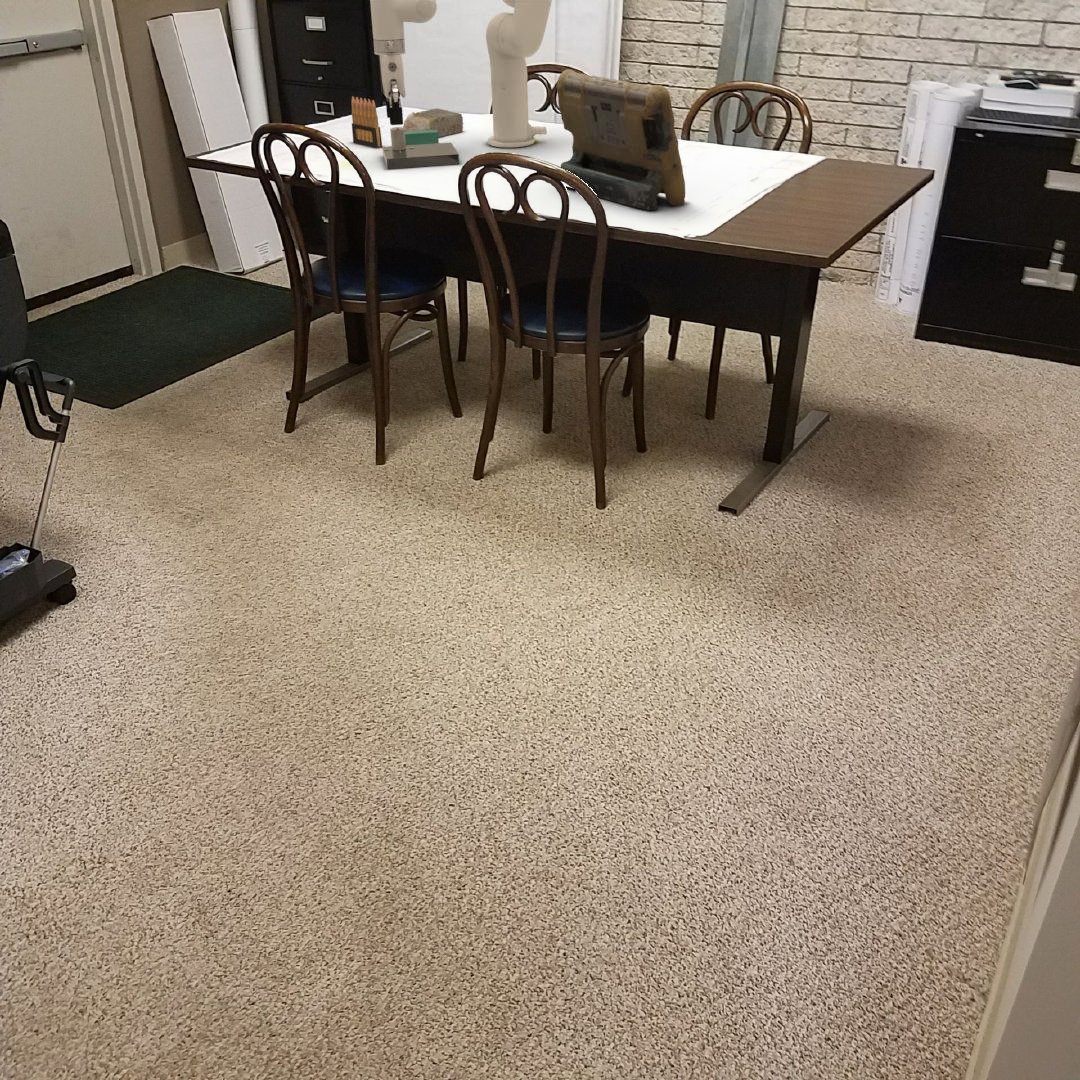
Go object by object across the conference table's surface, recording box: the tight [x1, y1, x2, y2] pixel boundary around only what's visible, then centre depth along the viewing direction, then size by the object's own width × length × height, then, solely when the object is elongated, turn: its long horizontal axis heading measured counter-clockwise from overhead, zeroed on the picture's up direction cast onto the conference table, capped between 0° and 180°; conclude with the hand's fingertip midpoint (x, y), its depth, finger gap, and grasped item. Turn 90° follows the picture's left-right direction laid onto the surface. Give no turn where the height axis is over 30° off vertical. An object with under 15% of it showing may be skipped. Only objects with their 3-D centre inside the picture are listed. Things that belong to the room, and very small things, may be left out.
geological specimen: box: [402, 108, 464, 138], centre depth 298 cm, size 11×6×15 cm
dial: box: [389, 126, 406, 151], centre depth 270 cm, size 4×4×5 cm
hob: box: [381, 141, 460, 170], centre depth 271 cm, size 18×14×3 cm
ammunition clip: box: [351, 95, 383, 149], centre depth 285 cm, size 11×2×12 cm, turn 45°
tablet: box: [556, 68, 686, 212], centre depth 232 cm, size 33×14×25 cm, turn 44°
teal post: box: [405, 130, 440, 145], centre depth 284 cm, size 4×12×4 cm, turn 102°
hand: (395, 121), depth 268 cm, fingers open, 9 cm apart
